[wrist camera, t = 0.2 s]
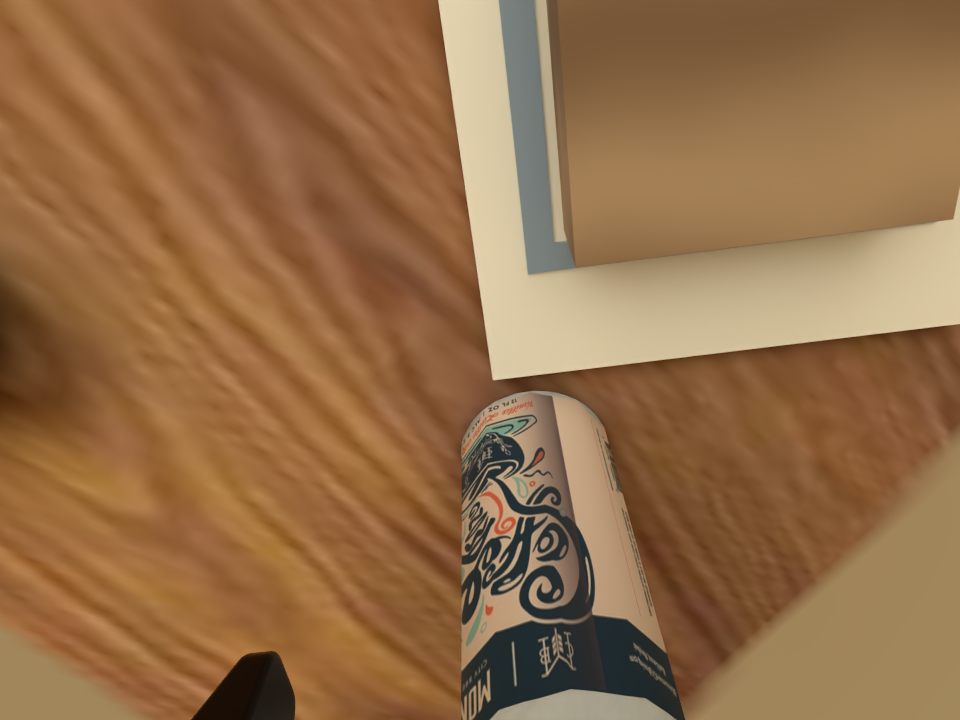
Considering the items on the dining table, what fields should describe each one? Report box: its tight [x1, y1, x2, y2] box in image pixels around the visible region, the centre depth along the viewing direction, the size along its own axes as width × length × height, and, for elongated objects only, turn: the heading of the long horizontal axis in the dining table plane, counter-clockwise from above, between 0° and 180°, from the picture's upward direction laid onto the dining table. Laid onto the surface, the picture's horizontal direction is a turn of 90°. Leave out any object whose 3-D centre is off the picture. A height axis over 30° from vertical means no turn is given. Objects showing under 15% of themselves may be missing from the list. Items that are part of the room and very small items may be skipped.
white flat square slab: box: [438, 0, 960, 380], centre depth 19 cm, size 16×14×1 cm
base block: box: [546, 0, 960, 267], centre depth 17 cm, size 9×9×2 cm
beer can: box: [461, 391, 685, 720], centre depth 20 cm, size 5×5×12 cm
